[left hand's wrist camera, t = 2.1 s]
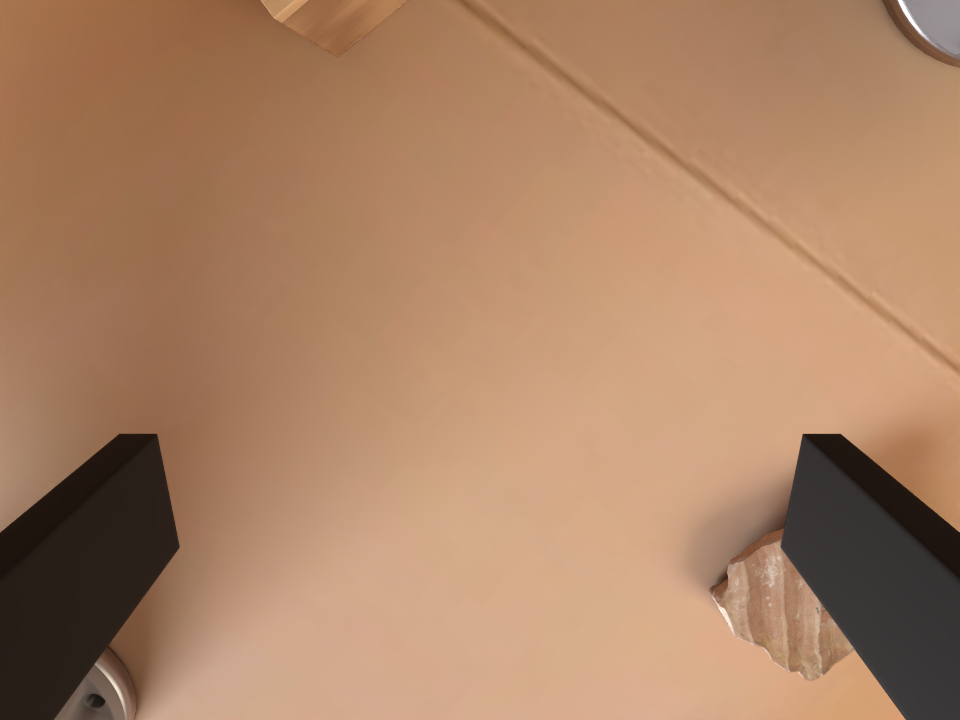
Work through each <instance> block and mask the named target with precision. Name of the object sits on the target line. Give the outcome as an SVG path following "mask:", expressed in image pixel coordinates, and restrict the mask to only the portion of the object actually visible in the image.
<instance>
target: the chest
mask: <svg viewBox="0 0 960 720" xmlns="http://www.w3.org/2000/svg"><path fill="white" fill-rule="evenodd" d="M407 1H408V0H308V1H307V2H306V3H305V4H303V5H302V6H301V7H300V8H299V9H297V10H296V11H295V12H294V13H293V14H292V15H290V16H289V17H288V18H287V19H286V20H284V21H283V22H281V23H282V24H284V25H285V26H287V27H289V28H290V29H292V30H294V31H295V32H297V33H299V34H300V35H302V36H304V37H305V38H307V39H309V40H310V41H312V42H314V43H315V44H317V45H318V46H320V47H322V48H323V49H325V50H327V51H328V52H330V53H332V54H333V55H335V56H337V57H339V56H341V55H342V54H343V53H344V52H345V51H347V50H348V49H349V48H350V47H352V46H353V45H354V44H355V43H356V42H358V41H359V40H360V39H361V38H363V37H364V36H365V35H366V34H368V33H369V32H370V31H371V30H372V29H374V28H375V27H376V26H377V25H379V24H380V23H381V22H382V21H384V20H385V19H386V18H387V17H388V16H390V15H391V14H392V13H393V12H395V11H396V10H397V9H398V8H399V7H401V6H402V5H403V4H404V3H406V2H407Z"/></svg>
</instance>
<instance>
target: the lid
mask: <svg viewBox="0 0 960 720" xmlns="http://www.w3.org/2000/svg"><path fill="white" fill-rule="evenodd" d="M307 1H308V0H261V2H262V3H263V4H264V6H265V7H266V9H267V10H268V11H269V13H270V14H271V15H272V17H273V18H274V19H276V20H277V21H279V22H283V21H284V20H286V19H287V18H288V17H289V16H290V15H292V14H293V13H294V12H295V11H296V10H297V9H299V8H300V7H301V6H302V5H303V4H305V3H306V2H307Z"/></svg>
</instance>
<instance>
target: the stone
mask: <svg viewBox="0 0 960 720" xmlns="http://www.w3.org/2000/svg"><path fill="white" fill-rule="evenodd" d="M783 531H784V528H783V529H780V530H778V531H774V532H772V533H768V534H766V535H764V536H763V537H762V538H761V539H759V540H758V541H757V542H756V543H753V544H752V545H750V546H749V547H747V548H746V549H745V550H744V551H743V553H742V554H741V555H739V556H737V557H735V558H733V559H732V560H731V561H730V562H729V566H728V570H727V574H728V578H727V579H726V580H725V581H724V582H723V583H721V584H718V585H714V586H712V587H711V588H710V589H709V592H710V593H711V596H712V598H713V599H714V601H715V602H716V604H717V605H718V608H719V610H720V611H721V613H722V614H723V616H724V617H725V619H726V621H727V623H728V625H729V627H730V628H731V630H732V632H733V634H734V635H735V636H736V637H738V638H739V639H742V640H744V641H746V642H749V643H751V644H753V645H757V646H760V647H763V648H764V649H765V651H766V652H767V654H768V655H769V656H770V658H771V660H773V661H774V662H775V663H776V664H777V665H778V666H780V667H781V668H783V669H784V670H786V671H789V672H798V673H799V674H800V675H801V676H802V677H804V679H805V681H812V680H815V679H817V678H819V677H821V676H823V675H824V674H826V673H827V672H828V671H829V670H830V668H831V667H832V666H833V665H834V664H835V663H837V662H839V661H840V660H842V659H844V658H845V657H846V656H848V655H849V654H851V653H852V652H854V651H855V649H854V648H853V646H852V645H851V644H850V642H849V641H848V640H847V638H846V637H845V635H844V634H843V633H842V631H841V630H840V629H839V627H838V626H837V624H836V623H835V622H834V620H833V619H832V618H831V616H830V615H829V613H828V612H827V611H826V609H825V608H824V607H823V605H822V604H821V602H820V601H819V600H818V598H817V597H816V596H815V594H814V593H813V591H812V590H811V589H810V587H809V586H808V585H807V583H806V582H805V581H804V579H803V578H802V576H801V575H800V574H799V572H798V571H797V570H796V568H795V567H794V565H793V564H792V563H791V561H790V560H789V559H788V557H787V556H786V554H785V553H784V552H783V550H782V549H781V548H780V546H781V541H782V536H783Z"/></svg>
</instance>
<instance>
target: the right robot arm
mask: <svg viewBox="0 0 960 720" xmlns="http://www.w3.org/2000/svg"><path fill="white" fill-rule="evenodd" d="M135 713H136V694H135V689H134V686H133V683H132V680H131V678H130V676H129V674H128V672H127V670H126V669H125V667H124V666H123V664H122V663H121V662H120V660H119V659H118V658H117V657H116V655H115V654H114V653H113V652H112V651H111V650H110V649H109V648H108V647H107V648H106V649H105V651H104V652H103V653H102V655H101V656H100V657H99V659H98V660H97V662H96V663H95V664H94V666H93V667H92V668H91V670H90V671H89V672H88V674H87V675H86V677H85V678H84V679H83V681H82V682H81V683H80V685H79V686H78V688H77V689H76V690H75V692H74V693H73V694H72V696H71V697H70V699H69V700H68V701H67V703H66V704H65V705H64V707H63V708H62V710H61V711H60V712H59V714H58V715H57V716H56V718H55V719H54V720H134V717H135Z"/></svg>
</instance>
